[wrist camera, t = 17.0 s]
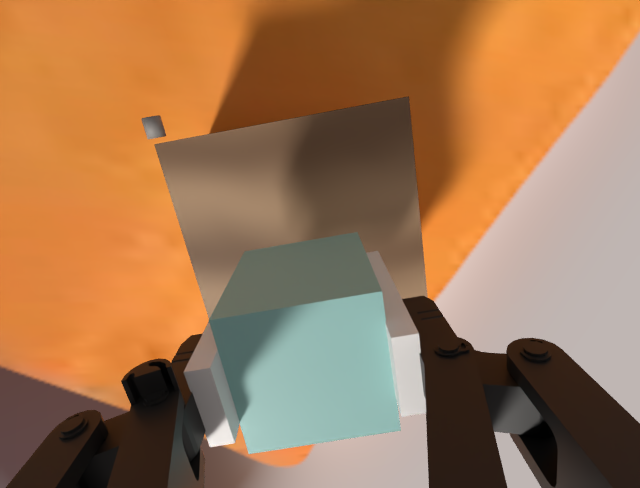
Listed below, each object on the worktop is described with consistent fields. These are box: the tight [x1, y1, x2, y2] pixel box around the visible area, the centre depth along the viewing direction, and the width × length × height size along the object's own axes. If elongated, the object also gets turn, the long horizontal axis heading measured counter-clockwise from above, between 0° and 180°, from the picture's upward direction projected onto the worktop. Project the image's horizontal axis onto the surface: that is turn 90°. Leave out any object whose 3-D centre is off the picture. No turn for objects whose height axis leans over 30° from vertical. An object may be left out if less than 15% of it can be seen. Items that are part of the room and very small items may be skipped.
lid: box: [154, 97, 427, 319], centre depth 21 cm, size 14×13×1 cm
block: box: [209, 232, 401, 454], centre depth 14 cm, size 5×5×6 cm
